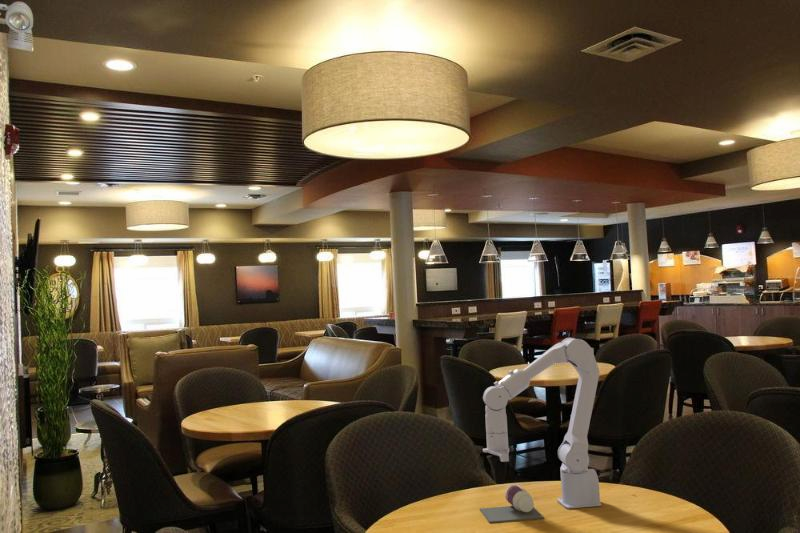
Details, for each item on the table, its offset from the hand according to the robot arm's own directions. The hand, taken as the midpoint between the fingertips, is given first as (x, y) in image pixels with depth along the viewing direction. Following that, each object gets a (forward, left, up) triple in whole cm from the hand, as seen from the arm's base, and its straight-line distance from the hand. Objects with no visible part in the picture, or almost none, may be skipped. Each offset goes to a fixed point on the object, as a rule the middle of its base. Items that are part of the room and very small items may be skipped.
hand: (499, 483), depth 179 cm
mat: (-1, +6, -6) cm, 9 cm away
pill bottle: (-4, -1, -3) cm, 5 cm away
